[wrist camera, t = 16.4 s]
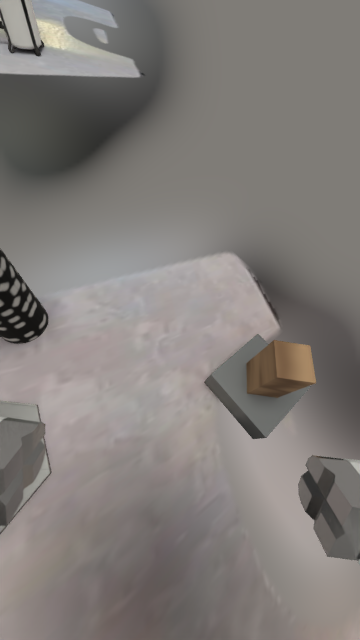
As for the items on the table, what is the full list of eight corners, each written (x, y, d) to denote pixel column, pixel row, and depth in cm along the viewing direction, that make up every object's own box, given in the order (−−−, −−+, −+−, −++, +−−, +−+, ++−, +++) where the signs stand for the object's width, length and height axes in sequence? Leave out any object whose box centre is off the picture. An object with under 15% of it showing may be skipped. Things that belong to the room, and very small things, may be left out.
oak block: (274, 367, 41) (310, 345, 32) (277, 397, 39) (316, 383, 30) (246, 363, 41) (274, 340, 32) (246, 393, 38) (277, 377, 30)
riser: (294, 392, 45) (310, 386, 40) (253, 438, 40) (266, 437, 36) (247, 344, 48) (258, 333, 44) (204, 381, 43) (210, 374, 39)
